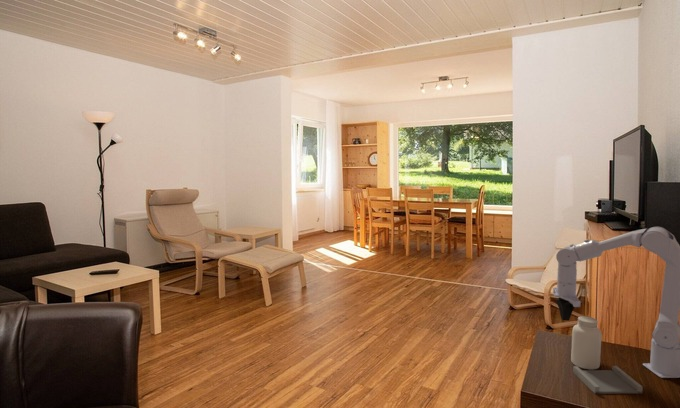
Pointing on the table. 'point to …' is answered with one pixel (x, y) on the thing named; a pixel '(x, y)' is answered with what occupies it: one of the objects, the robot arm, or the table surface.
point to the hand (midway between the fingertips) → (565, 319)
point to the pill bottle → (586, 343)
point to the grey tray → (608, 381)
